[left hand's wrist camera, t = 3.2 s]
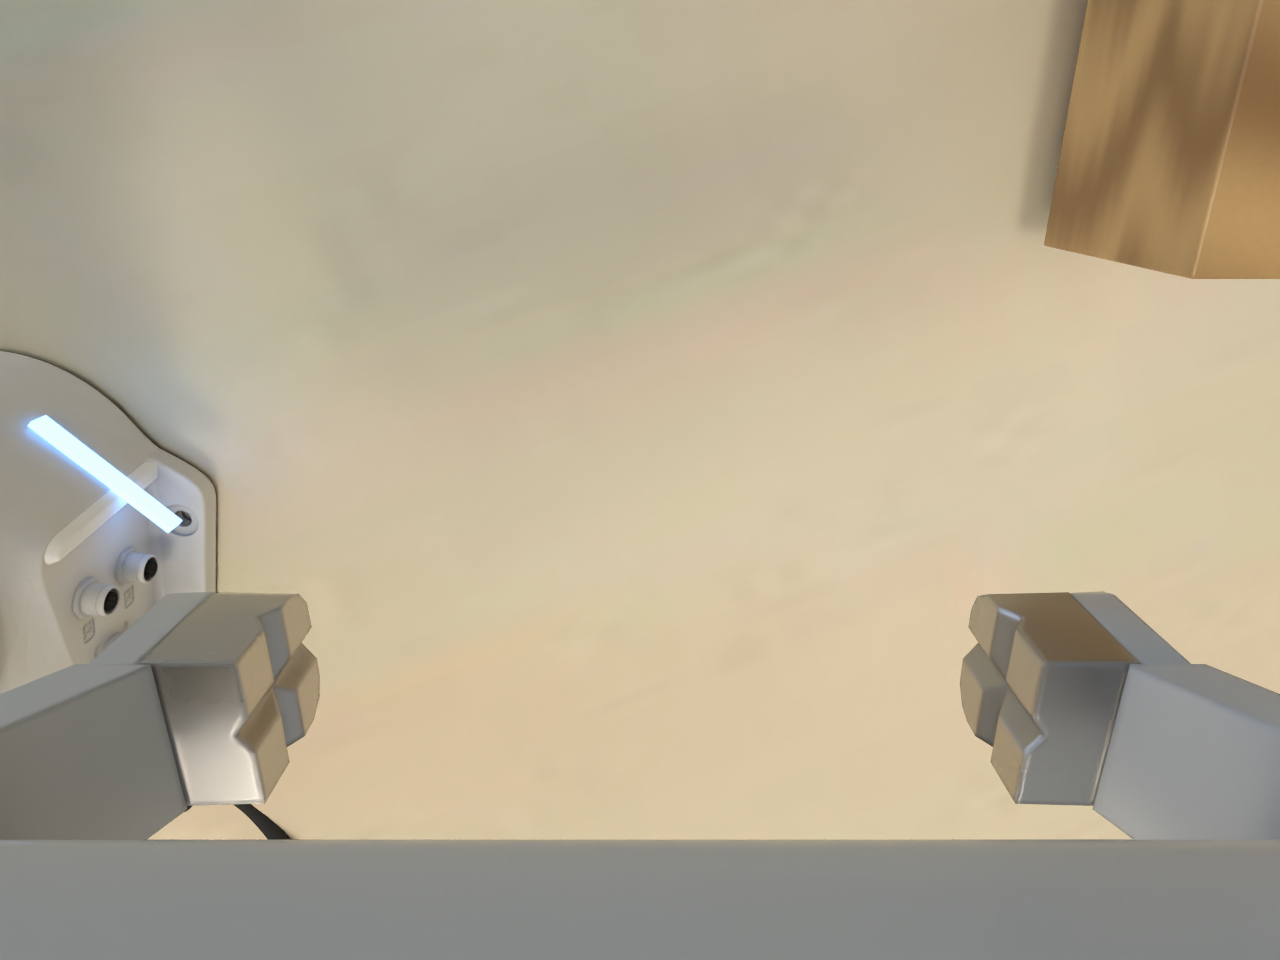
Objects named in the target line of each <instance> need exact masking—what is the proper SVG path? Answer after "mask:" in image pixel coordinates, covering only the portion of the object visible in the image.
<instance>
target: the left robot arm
mask: <svg viewBox="0 0 1280 960" xmlns="http://www.w3.org/2000/svg"><path fill="white" fill-rule="evenodd" d="M181 511H185V512H187V513H188V514H189V515H190V516H191V519H192V521H189V520H187V519H185V518H184V517H183V515H182V512H181ZM311 627H312V626H311V621H310V617H309V612H308V607H307V603H306V602H305V600H304V599H303V598H302V597H301V596H300V595H299V594H264V593H216V492H215V489H214V486H213V484H212V483H211V481H210V480H209V479H208V478H207V477H206V476H205V475H204V474H203V473H201V472H200V471H199V470H197V469H196V468H194V467H193V466H191V465H189V464H188V463H186V462H184V461H182V460H181V459H179V458H177V457H175V456H173V455H171V454H169V453H168V452H166V451H164V450H162V449H160V448H158V447H157V446H156V445H155V444H154V443H152V442H151V441H150V440H149V439H148V438H147V437H146V436H145V435H144V434H143V433H142V432H141V431H140V430H139V429H138V428H137V427H136V426H135V424H134V423H133V422H132V421H131V420H130V419H129V418H128V417H127V416H126V415H125V414H124V413H123V412H122V411H121V410H120V409H119V408H118V407H117V406H116V405H115V404H114V403H112V402H111V401H110V400H109V399H108V398H107V397H105V396H104V395H103V394H101V393H100V392H99V391H97V390H96V389H95V388H93V387H92V386H90V385H89V384H87V383H86V382H84V381H83V380H81V379H79V378H77V377H76V376H74V375H72V374H70V373H68V372H66V371H64V370H63V369H60V368H58V367H56V366H54V365H51V364H49V363H46V362H44V361H41V360H38V359H35V358H32V357H28V356H25V355H20V354H16V353H11V352H5V351H0V960H1280V694H1278V693H1275V692H1273V691H1270V690H1268V689H1265V688H1263V687H1261V686H1258V685H1256V684H1253V683H1251V682H1248V681H1246V680H1243V679H1241V678H1238V677H1236V676H1233V675H1231V674H1228V673H1226V672H1223V671H1221V670H1218V669H1216V668H1213V667H1211V666H1208V665H1206V664H1191V663H1190V662H1188V661H1187V660H1186V659H1185V658H1184V657H1183V656H1182V655H1181V654H1180V653H1178V652H1177V651H1176V650H1175V649H1174V648H1173V647H1172V646H1171V645H1170V644H1168V643H1167V642H1166V641H1165V640H1164V639H1163V638H1162V637H1161V636H1160V635H1158V634H1157V633H1156V632H1155V631H1154V630H1153V629H1152V628H1151V627H1149V626H1148V625H1147V624H1146V623H1145V622H1144V621H1143V620H1142V619H1141V618H1139V617H1138V616H1137V615H1136V614H1135V613H1134V612H1133V611H1132V610H1131V609H1129V608H1128V607H1127V606H1126V605H1125V604H1124V603H1123V602H1122V601H1121V600H1119V599H1118V598H1117V597H1116V596H1115V595H1113V594H1110V593H1106V592H1081V593H1026V594H987V595H981V596H977V598H976V600H975V603H974V605H973V607H972V610H971V615H970V621H969V626H968V627H969V629H970V630H971V632H972V633H973V635H974V636H975V638H976V640H977V641H978V644H977V645H976V646H975V647H974V648H973V649H972V650H971V651H970V652H969V653H968V654H967V655H966V656H965V657H964V658H963V663H962V671H961V678H960V689H961V699H962V707H963V710H964V713H965V716H966V719H967V722H968V724H969V725H970V727H971V729H972V731H973V733H974V734H975V736H976V737H978V738H979V739H981V740H983V741H984V742H986V743H988V744H989V745H991V746H992V747H993V752H992V757H991V764H992V765H993V767H994V769H995V770H996V772H997V774H998V775H999V777H1000V779H1001V780H1002V782H1003V784H1004V785H1005V787H1006V789H1007V790H1008V792H1009V794H1010V795H1011V797H1012V799H1013V800H1014V802H1015V804H1050V805H1087V806H1093V810H1095V811H1096V812H1097V813H1099V814H1100V815H1101V816H1103V817H1104V818H1105V819H1107V820H1108V821H1109V822H1111V823H1112V824H1114V825H1115V826H1116V827H1118V828H1119V829H1120V830H1122V831H1123V832H1124V833H1126V834H1127V835H1128V836H1130V837H1131V838H1132V839H1134V840H290V839H289V837H288V836H287V835H286V833H285V832H284V831H283V830H282V829H281V828H280V827H278V826H277V825H276V824H275V823H274V822H273V821H272V820H270V819H269V818H268V817H267V816H266V815H264V814H263V813H261V812H260V811H259V810H257V809H256V808H255V807H253V806H252V805H251V804H264V803H265V802H266V801H267V799H268V797H269V796H270V794H271V792H272V790H273V789H274V787H275V785H276V784H277V782H278V780H279V779H280V777H281V775H282V774H283V772H284V770H285V769H286V767H287V765H288V764H289V757H288V751H287V747H288V746H289V745H291V744H292V743H294V742H296V741H297V740H299V739H301V738H302V737H304V736H305V734H306V733H307V731H308V729H309V727H310V725H311V723H312V722H313V720H314V717H315V712H316V708H317V704H318V700H319V692H320V675H319V669H318V662H317V658H316V657H315V656H314V655H313V654H312V653H311V652H310V651H309V650H308V649H307V648H306V647H305V646H304V645H303V644H302V641H303V640H304V638H305V636H306V635H307V633H308V632H309V630H310V629H311ZM228 804H233V805H235V806H236V807H237V808H239V809H240V810H241V811H242V812H243V813H245V814H246V815H247V816H248V817H249V818H250V819H251V820H252V821H253V822H254V823H255V824H256V826H257V827H258V828H259V829H260V830H261V831H262V833H263V834H264V835H265V836H266V837H267V839H268V840H147V839H148V838H149V837H151V836H152V835H153V834H155V833H156V832H157V831H159V830H160V829H161V828H163V827H164V826H165V825H167V824H168V823H169V822H171V821H172V820H174V819H175V818H176V817H178V816H179V815H180V814H182V813H183V812H185V811H187V810H189V809H190V808H191V807H192V806H193V805H228Z"/></svg>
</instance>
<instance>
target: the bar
mask: <svg viewBox="0 0 1280 960" xmlns="http://www.w3.org/2000/svg"><path fill="white" fill-rule="evenodd" d="M1044 245H1045V246H1049V247H1053V248H1058V249H1062V250H1066V251H1071V252H1075V253H1080V254H1084V255H1089V256H1093V257H1098V258H1102V259H1106V260H1111V261H1115V262H1120V263H1124V264H1129V265H1133V266H1137V267H1142V268H1146V269H1151V270H1155V271H1160V272H1164V273H1169V274H1173V275H1177V276H1182V277H1186V278H1191V279H1280V0H1088V3H1087V9H1086V14H1085V20H1084V25H1083V31H1082V36H1081V42H1080V47H1079V53H1078V59H1077V64H1076V70H1075V75H1074V81H1073V86H1072V92H1071V97H1070V103H1069V109H1068V114H1067V120H1066V125H1065V131H1064V136H1063V142H1062V147H1061V153H1060V159H1059V164H1058V170H1057V175H1056V181H1055V186H1054V192H1053V198H1052V203H1051V209H1050V214H1049V220H1048V225H1047V231H1046V236H1045V242H1044Z"/></svg>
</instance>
